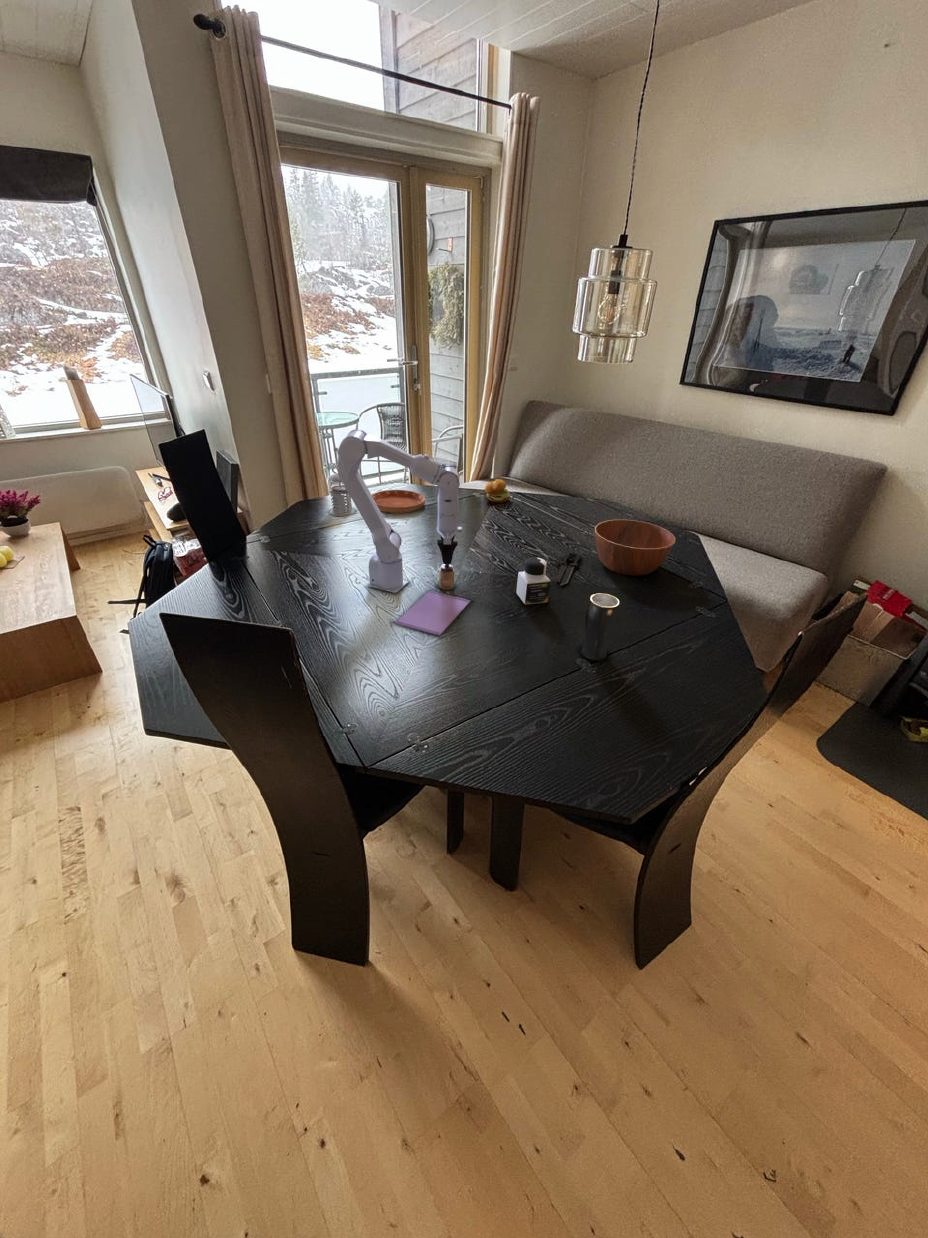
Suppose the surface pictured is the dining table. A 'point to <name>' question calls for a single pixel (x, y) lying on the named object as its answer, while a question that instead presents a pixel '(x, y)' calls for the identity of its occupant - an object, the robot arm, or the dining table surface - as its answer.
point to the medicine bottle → (533, 582)
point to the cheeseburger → (497, 491)
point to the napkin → (433, 613)
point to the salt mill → (446, 576)
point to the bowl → (632, 546)
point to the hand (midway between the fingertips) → (447, 557)
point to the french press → (340, 497)
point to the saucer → (398, 501)
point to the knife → (570, 568)
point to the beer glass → (599, 625)
